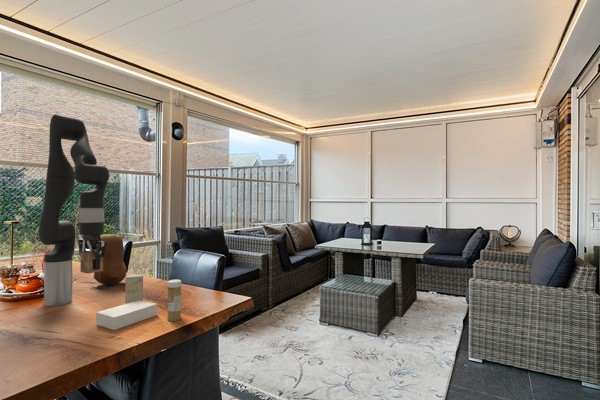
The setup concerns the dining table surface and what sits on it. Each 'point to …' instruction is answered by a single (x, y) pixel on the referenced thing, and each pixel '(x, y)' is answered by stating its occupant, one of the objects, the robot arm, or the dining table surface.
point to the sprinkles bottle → (174, 300)
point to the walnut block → (89, 263)
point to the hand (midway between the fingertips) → (91, 268)
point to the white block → (126, 314)
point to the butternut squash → (112, 261)
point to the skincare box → (134, 288)
